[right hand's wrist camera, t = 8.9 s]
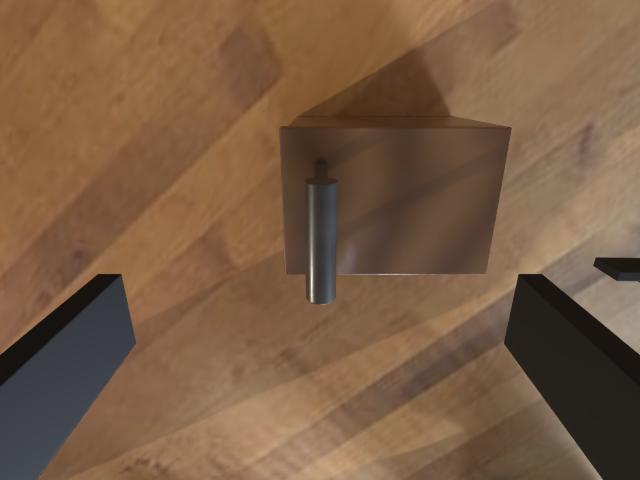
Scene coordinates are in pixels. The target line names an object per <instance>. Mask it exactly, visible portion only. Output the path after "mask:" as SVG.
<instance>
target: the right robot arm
mask: <svg viewBox="0 0 640 480" xmlns="http://www.w3.org/2000/svg"><path fill="white" fill-rule="evenodd" d="M135 344H136V341H135V336H134V331H133V327H132V322H131V317H130V313H129V308H128V303H127V298H126V294H125V289H124V284H123V280H122V275H121V274H98V275H96V276H95V277H94V278H93V279H92V280H90V281H89V282H88V283H87V284H86V285H84V286H83V287H82V288H81V289H79V290H78V291H77V292H76V293H75V294H73V295H72V296H71V297H70V298H69V299H67V300H66V301H65V302H64V303H63V304H61V305H60V306H59V307H58V308H57V309H55V310H54V311H53V312H52V313H50V314H49V315H48V316H47V317H46V318H44V319H43V320H42V321H41V322H40V323H38V324H37V325H36V326H35V327H34V328H32V329H31V330H30V331H29V332H27V333H26V334H25V335H24V336H23V337H21V338H20V339H19V340H18V341H17V342H15V343H14V344H13V345H12V346H11V347H9V348H8V349H7V350H6V351H4V352H3V353H2V354H1V355H0V480H37V479H38V478H39V476H40V475H41V473H42V472H43V471H44V469H45V468H46V467H47V465H48V464H49V462H50V461H51V460H52V458H53V457H54V456H55V454H56V453H57V451H58V450H59V449H60V447H61V446H62V445H63V443H64V442H65V440H66V439H67V438H68V436H69V435H70V434H71V432H72V431H73V429H74V428H75V427H76V425H77V424H78V423H79V421H80V420H81V418H82V417H83V416H84V414H85V413H86V412H87V410H88V409H89V407H90V406H91V405H92V403H93V402H94V401H95V399H96V398H97V396H98V395H99V394H100V392H101V391H102V390H103V388H104V387H105V385H106V384H107V383H108V381H109V380H110V379H111V377H112V376H113V375H114V373H115V372H116V370H117V369H118V368H119V366H120V365H121V364H122V362H123V361H124V359H125V358H126V357H127V355H128V354H129V353H130V351H131V350H132V348H133V347H134V346H135ZM504 344H505V346H506V347H507V348H508V350H509V351H510V353H511V354H512V355H513V357H514V358H515V359H516V361H517V362H518V364H519V365H520V366H521V368H522V369H523V370H524V372H525V373H526V375H527V376H528V377H529V379H530V380H531V381H532V383H533V384H534V385H535V387H536V388H537V390H538V391H539V392H540V394H541V395H542V396H543V398H544V399H545V401H546V402H547V403H548V405H549V406H550V407H551V409H552V410H553V412H554V413H555V414H556V416H557V417H558V418H559V420H560V421H561V423H562V424H563V425H564V427H565V428H566V429H567V431H568V432H569V434H570V435H571V436H572V438H573V439H574V440H575V442H576V443H577V445H578V446H579V447H580V449H581V450H582V451H583V453H584V454H585V456H586V457H587V458H588V460H589V461H590V462H591V464H592V465H593V467H594V468H595V469H596V471H597V472H598V473H599V475H600V476H601V478H602V479H603V480H640V355H639V354H638V353H637V352H636V351H634V350H633V349H632V348H631V347H629V346H628V345H627V344H626V343H625V342H623V341H622V340H621V339H620V338H619V337H617V336H616V335H615V334H614V333H613V332H611V331H610V330H609V329H608V328H606V327H605V326H604V325H603V324H602V323H600V322H599V321H598V320H597V319H596V318H594V317H593V316H592V315H591V314H590V313H588V312H587V311H586V310H585V309H583V308H582V307H581V306H580V305H579V304H577V303H576V302H575V301H574V300H573V299H571V298H570V297H569V296H568V295H567V294H565V293H564V292H563V291H562V290H561V289H559V288H558V287H557V286H556V285H554V284H553V283H552V282H551V281H550V280H548V279H547V278H546V277H545V276H544V275H542V274H519V275H518V280H517V284H516V289H515V294H514V298H513V303H512V308H511V313H510V317H509V322H508V327H507V331H506V336H505V341H504Z"/></svg>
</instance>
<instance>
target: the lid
mask: <svg viewBox="0 0 640 480" xmlns="http://www.w3.org/2000/svg"><path fill="white" fill-rule="evenodd" d="M510 134H511V127H506V126H282V127H280V151H281V178H282V205H283V232H284V259H285V274H306V298H307V300H308V301H309V302H311V303H314V304H328V303H331V302H333V301H334V300H335V298H336V275H485V274H486V269H487V264H488V258H489V253H490V247H491V241H492V236H493V230H494V224H495V219H496V213H497V207H498V202H499V196H500V190H501V185H502V179H503V173H504V168H505V162H506V156H507V151H508V145H509V139H510Z"/></svg>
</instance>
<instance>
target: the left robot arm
mask: <svg viewBox="0 0 640 480" xmlns="http://www.w3.org/2000/svg"><path fill="white" fill-rule="evenodd" d="M593 266H595V267H596V268H598V269H599V270H601V271H602V272H604V273H606V274H607V275H609V276H610V277H612V278H613V279H615V280H616V281H638V282H640V258H597V257H596V259H595V262H594V265H593Z"/></svg>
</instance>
